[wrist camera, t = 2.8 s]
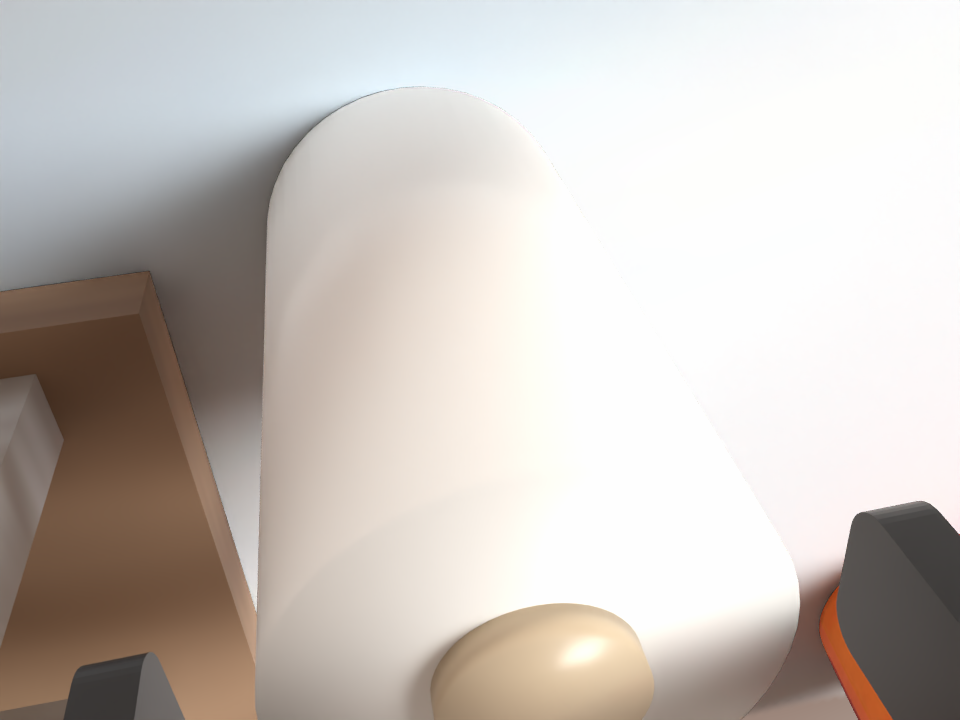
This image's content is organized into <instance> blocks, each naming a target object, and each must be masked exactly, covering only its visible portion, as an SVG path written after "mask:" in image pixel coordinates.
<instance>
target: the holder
mask: <svg viewBox="0 0 960 720" xmlns="http://www.w3.org/2000/svg"><path fill="white" fill-rule="evenodd" d="M256 627H257V614H256V611H255V607H254V604H253V601H252V598H251V595H250V591H249V588H248V585H247V582H246V579H245V575H244V572H243V569H242V566H241V563H240V559H239V556H238V553H237V550H236V547H235V543H234V540H233V537H232V534H231V531H230V527H229V524H228V521H227V518H226V515H225V511H224V508H223V505H222V502H221V499H220V495H219V492H218V489H217V486H216V483H215V479H214V476H213V473H212V470H211V467H210V463H209V460H208V457H207V454H206V451H205V447H204V444H203V441H202V438H201V435H200V432H199V428H198V425H197V422H196V419H195V416H194V412H193V409H192V406H191V403H190V400H189V396H188V393H187V390H186V387H185V384H184V380H183V377H182V374H181V371H180V368H179V364H178V361H177V358H176V355H175V352H174V348H173V345H172V342H171V339H170V336H169V332H168V329H167V326H166V323H165V320H164V316H163V313H162V310H161V307H160V304H159V300H158V297H157V294H156V291H155V288H154V284H153V281H152V278H151V275H150V272H149V271H146V272H139V273H131V274H124V275H117V276H110V277H103V278H95V279H88V280H81V281H74V282H67V283H60V284H52V285H45V286H38V287H31V288H24V289H16V290H9V291H2V292H0V720H63V719H64V714H65V710H66V705H67V701H68V696H69V692H70V687H71V683H72V679H73V677H74V674H75V672H76V671H77V669H78V668H79V667H80V666H83V665H88V664H93V663H98V662H103V661H108V660H113V659H118V658H123V657H128V656H133V655H138V654H143V653H148V652H153V653H154V654H155V655H156V656H157V657H158V659H159V661H160V663H161V665H162V668H163V670H164V672H165V674H166V677H167V679H168V681H169V684H170V686H171V688H172V690H173V693H174V695H175V697H176V700H177V702H178V704H179V707H180V709H181V711H182V713H183V716H184V718H185V720H258V718H257V714H256V710H255V664H256Z"/></svg>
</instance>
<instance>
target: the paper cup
mask: <svg viewBox="0 0 960 720" xmlns="http://www.w3.org/2000/svg"><path fill="white" fill-rule="evenodd" d="M959 535H960V534H959ZM838 589H839V586H838V587H837V588H836V589H835V591H834V592H833V593H832V595H831V596H830V597H829V599H828V601H827V602H826V604H825V606H824V608H823V611H822V614H821V617H820V622H819V633H820V637H821V640H822V643H823V646H824V648H825V651H826V653H827V655H828V658H829V660H830V662H831V664H832V666H833V669H834V671H835V673H836V675H837V677H838V679H839V681H840V683H841V685H842V687H843V689H844V692H845V694H846V696H847V698H848V700H849V702H850V704H851V706H852V708H853V710H854V712H855V714H856V716H857V718H858V720H893V719H892V717H891V716H890V714H889V713H888V711H887V710H886V708H885V706H884V705H883V703H882V702H881V700H880V699H879V697H878V695H877V694H876V692H875V691H874V689H873V688H872V686H871V684H870V683H869V681H868V680H867V678H866V677H865V675H864V673H863V672H862V670H861V669H860V667H859V666H858V664H857V662H856V661H855V659H854V658H853V656H852V655H851V653H850V651H849V649H848V647H847V645H846V643H845V641H844V638H843V636H842V633H841V630H840V626H839V622H838V617H837V609H836V601H837V594H838Z"/></svg>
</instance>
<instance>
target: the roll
mask: <svg viewBox="0 0 960 720" xmlns="http://www.w3.org/2000/svg"><path fill="white" fill-rule="evenodd" d="M799 610H800V595H799V583H798V579H797V575H796V572H795V568H794V565H793V562H792V559H791V557H790V556H789V554H788V552H787V550H786V548H785V547H784V545H783V543H782V541H781V539H780V538H779V536H778V534H777V533H776V531H775V529H774V528H773V526H772V525H771V523H770V521H769V520H768V518H767V516H766V515H765V513H764V511H763V510H762V508H761V506H760V505H759V503H758V502H757V500H756V498H755V497H754V495H753V493H752V492H751V490H750V488H749V487H748V485H747V483H746V482H745V480H744V479H743V477H742V475H741V474H740V472H739V470H738V469H737V467H736V465H735V464H734V462H733V460H732V459H731V457H730V456H729V454H728V452H727V451H726V449H725V447H724V446H723V444H722V442H721V441H720V439H719V437H718V436H717V434H716V433H715V431H714V429H713V428H712V426H711V424H710V423H709V421H708V419H707V418H706V416H705V414H704V413H703V411H702V410H701V408H700V406H699V405H698V403H697V401H696V400H695V398H694V396H693V395H692V393H691V391H690V390H689V388H688V387H687V385H686V383H685V382H684V380H683V378H682V377H681V375H680V373H679V372H678V370H677V368H676V367H675V365H674V364H673V362H672V360H671V359H670V357H669V355H668V354H667V352H666V350H665V349H664V347H663V346H662V344H661V342H660V341H659V339H658V337H657V336H656V334H655V332H654V331H653V329H652V327H651V326H650V324H649V323H648V321H647V319H646V318H645V316H644V314H643V313H642V311H641V309H640V308H639V306H638V304H637V303H636V301H635V300H634V298H633V296H632V295H631V293H630V291H629V290H628V288H627V286H626V285H625V283H624V281H623V280H622V278H621V277H620V275H619V273H618V272H617V270H616V268H615V267H614V265H613V263H612V262H611V260H610V258H609V257H608V255H607V254H606V252H605V250H604V249H603V247H602V245H601V244H600V242H599V240H598V239H597V237H596V235H595V234H594V232H593V231H592V229H591V227H590V226H589V224H588V222H587V221H586V219H585V217H584V216H583V214H582V212H581V211H580V209H579V208H578V206H577V204H576V203H575V201H574V199H573V198H572V196H571V194H570V193H569V191H568V189H567V188H566V186H565V185H564V183H563V181H562V180H561V178H560V176H559V175H558V173H557V171H556V170H555V168H554V166H553V165H552V163H551V162H550V160H549V158H548V157H547V155H546V153H545V152H544V150H543V148H542V147H541V145H540V144H539V143H538V142H537V140H536V139H535V138H534V137H533V135H532V134H531V133H530V132H529V131H528V130H527V129H526V128H525V127H524V126H523V125H522V124H521V123H520V122H519V121H518V120H517V119H515V118H514V117H513V116H511V115H510V114H508V113H507V112H506V111H504V110H503V109H501V108H500V107H498V106H496V105H494V104H492V103H490V102H488V101H486V100H484V99H482V98H479V97H476V96H473V95H470V94H468V93H465V92H460V91H456V90H451V89H446V88H436V87H406V88H398V89H393V90H387V91H382V92H378V93H375V94H372V95H369V96H366V97H363V98H360V99H358V100H356V101H354V102H352V103H350V104H348V105H346V106H344V107H342V108H340V109H338V110H337V111H335V112H334V113H332V114H331V115H329V116H328V117H326V118H325V119H323V120H322V121H321V122H320V123H319V124H318V125H316V126H315V127H314V128H313V129H312V130H311V131H309V132H308V133H307V134H306V136H305V137H304V138H303V139H302V140H301V141H300V142H299V144H298V145H297V146H296V147H295V148H294V150H293V151H292V153H291V154H290V156H289V157H288V159H287V160H286V162H285V163H284V165H283V167H282V169H281V171H280V174H279V176H278V178H277V180H276V182H275V185H274V189H273V192H272V195H271V198H270V204H269V210H268V217H267V250H266V288H265V325H264V363H263V401H262V438H261V476H260V514H259V551H258V589H257V627H256V664H255V710H256V714H257V718H258V720H741V719H742V718H743V717H744V716H746V715H747V714H748V713H749V712H750V710H751V709H752V708H753V707H754V706H755V704H756V703H757V702H758V701H759V700H760V699H761V697H762V696H763V695H764V694H765V693H766V691H767V690H768V688H769V687H770V685H771V684H772V682H773V681H774V679H775V678H776V676H777V675H778V673H779V672H780V670H781V668H782V666H783V664H784V662H785V659H786V657H787V655H788V653H789V651H790V649H791V646H792V643H793V639H794V636H795V633H796V630H797V626H798V618H799Z"/></svg>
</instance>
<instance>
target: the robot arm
mask: <svg viewBox="0 0 960 720" xmlns="http://www.w3.org/2000/svg"><path fill="white" fill-rule="evenodd" d="M836 609H837V617H838V622H839V626H840V630H841V633H842V636H843V638H844V641H845V643H846V645H847V647H848V649H849V651H850V653H851V655H852V656H853V658H854V659H855V661H856V662H857V664H858V666H859V667H860V669H861V670H862V672H863V673H864V675H865V677H866V678H867V680H868V681H869V683H870V684H871V686H872V688H873V689H874V691H875V692H876V694H877V695H878V697H879V699H880V700H881V702H882V703H883V705H884V706H885V708H886V710H887V711H888V713H889V714H890V716H891V717H892V719H893V720H960V535H959V534H958V533H957V532H956V530H955V529H954V528H953V527H952V526H951V525H950V524H949V522H948V521H947V520H946V519H945V518H944V517H943V516H942V514H941V513H940V512H939V511H938V510H937V509H936V508H935V507H933V506H932V505H931V504H929V503H927V502H924V501H916V502H911V503H906V504H901V505H896V506H891V507H886V508H881V509H876V510H871V511H866V512H861V513H859V514H857V515H856V516H855V517H854V519H853V521H852V525H851V529H850V534H849V539H848V544H847V549H846V554H845V559H844V564H843V569H842V574H841V579H840V584H839V589H838V594H837V601H836ZM63 720H185V718H184V716H183V713H182V711H181V709H180V707H179V704H178V702H177V700H176V697H175V695H174V693H173V690H172V688H171V686H170V684H169V681H168V679H167V677H166V674H165V672H164V670H163V668H162V665H161V663H160V661H159V659H158V657H157V656H156V655H155V654H154V653H153V652H148V653H143V654H138V655H133V656H128V657H123V658H118V659H113V660H108V661H103V662H98V663H93V664H88V665H83V666H80V667H79V668H78V669H77V671H76V672H75V674H74V677H73V679H72V683H71V687H70V692H69V696H68V701H67V705H66V710H65V714H64V719H63Z"/></svg>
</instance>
